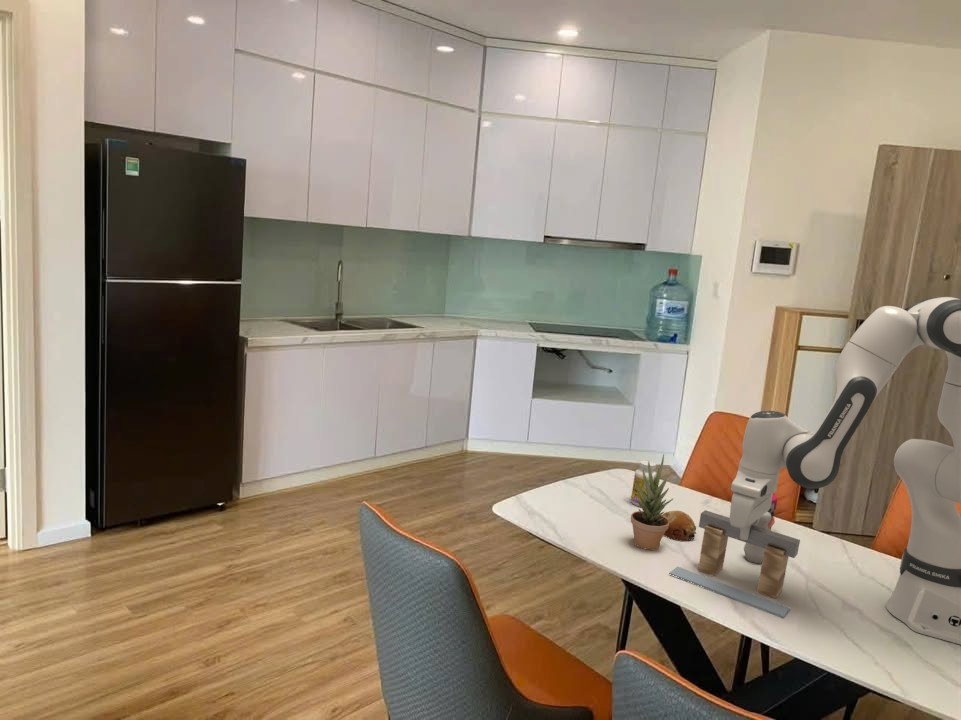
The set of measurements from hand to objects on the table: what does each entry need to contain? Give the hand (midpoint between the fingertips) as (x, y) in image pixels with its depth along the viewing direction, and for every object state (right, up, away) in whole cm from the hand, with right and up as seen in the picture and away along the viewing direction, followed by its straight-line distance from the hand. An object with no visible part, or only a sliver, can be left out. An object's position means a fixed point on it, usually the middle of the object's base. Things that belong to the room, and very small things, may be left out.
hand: (747, 536), depth 169 cm
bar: (0, -1, 0) cm, 1 cm away
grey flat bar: (-6, -11, -5) cm, 14 cm away
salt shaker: (+7, -10, +14) cm, 19 cm away
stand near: (+4, -12, -2) cm, 13 cm away
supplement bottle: (-14, -2, +46) cm, 49 cm away
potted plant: (-20, -7, +17) cm, 27 cm away
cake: (+14, -7, +35) cm, 39 cm away
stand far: (-7, -10, +6) cm, 13 cm away
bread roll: (-9, -6, +26) cm, 29 cm away
